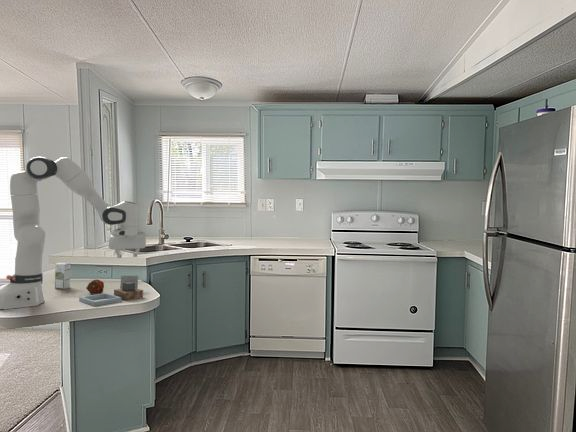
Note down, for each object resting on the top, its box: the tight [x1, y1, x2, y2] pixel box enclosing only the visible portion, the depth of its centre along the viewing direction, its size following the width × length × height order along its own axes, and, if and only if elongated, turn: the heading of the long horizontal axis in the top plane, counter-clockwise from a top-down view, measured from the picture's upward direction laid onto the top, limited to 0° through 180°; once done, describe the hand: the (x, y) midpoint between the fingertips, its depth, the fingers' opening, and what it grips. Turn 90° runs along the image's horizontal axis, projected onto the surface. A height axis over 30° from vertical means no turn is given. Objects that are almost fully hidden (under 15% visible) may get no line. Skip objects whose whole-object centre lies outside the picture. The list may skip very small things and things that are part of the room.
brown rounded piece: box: [85, 278, 105, 295], centre depth 223 cm, size 8×8×12 cm
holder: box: [113, 288, 144, 301], centre depth 218 cm, size 10×10×4 cm
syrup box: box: [54, 261, 71, 290], centre depth 233 cm, size 6×6×14 cm
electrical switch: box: [119, 275, 139, 289], centre depth 232 cm, size 9×5×9 cm, turn 102°
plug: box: [122, 282, 135, 292], centre depth 218 cm, size 4×4×8 cm
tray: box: [78, 292, 122, 307], centre depth 207 cm, size 14×14×2 cm
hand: (127, 257), depth 217 cm, fingers open, 8 cm apart
